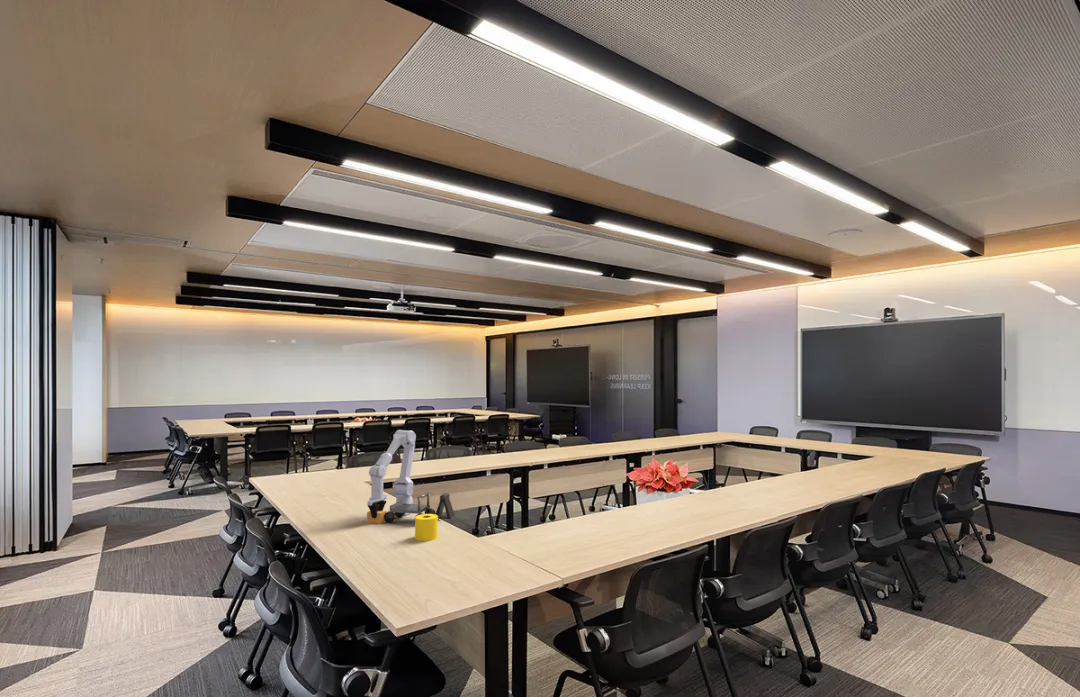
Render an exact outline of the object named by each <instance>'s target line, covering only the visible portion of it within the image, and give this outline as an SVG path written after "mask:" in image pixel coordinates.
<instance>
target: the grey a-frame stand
mask: <svg viewBox="0 0 1080 697" xmlns="http://www.w3.org/2000/svg"><path fill="white" fill-rule="evenodd" d="M444 510H445V514H443V512H444ZM435 513H436V515H437V516H438V519H439V520H440V519H441V520H442V519H443V520H451V519H453V518H454V517H455V516H456V514H455V512H454V508H453V506H452V502H451V500H450V493H449V492H444V493H442V494H441V495H440V496H439V503H438V505H437V509H436V510H435Z"/></svg>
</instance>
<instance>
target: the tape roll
mask: <svg viewBox="0 0 1080 697" xmlns="http://www.w3.org/2000/svg"><path fill="white" fill-rule="evenodd" d="M415 516H416V515H415ZM414 523H415V524H414V525H415V526H414V540H416V541H419V542H429V541H430V542H431V541H434V540H437V539H438V538H439V536H438V535H439V534H438V529H439V527H438V524H439V522H438V516H437V515H435V514H424V513H423V514H422V515H418V516H416V517H414Z"/></svg>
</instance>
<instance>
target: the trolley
mask: <svg viewBox="0 0 1080 697" xmlns="http://www.w3.org/2000/svg"><path fill="white" fill-rule="evenodd" d="M430 493H431V492H426V493H424V494H422V495H419V496H417V503H413V504H404V503H403V501H399V502H397V503H396V502H395V503H392V504H391V505H389V510H388V511H386V513H385V514H384V520H385V522H386V523H388V524H391V523H393V522H394V521H395V520H396V517H397V518H403V517H404V516H406V515H405V513H410V514H414V515H415V514H416V515H415V517H416V516H418V515H422V514H435V515H436V510H435V509H433V508H432V507H431V505H430ZM423 498H426V504H421V499H423ZM423 512H424V513H423ZM394 513H395V514H394ZM415 517H414V518H415Z"/></svg>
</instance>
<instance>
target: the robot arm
mask: <svg viewBox="0 0 1080 697" xmlns="http://www.w3.org/2000/svg"><path fill="white" fill-rule="evenodd" d="M416 438H417V435H416V433H415V432H414V431H413V430H404V429H398V430H397V429H396V431H395V433H394V434H393V439H392V441H391V443H390V445H389V447H388V448H387V450H386V452H383V453H381V454H380V457H379V458H378V460H377V461H376V463H375V464H374V465H372V466H371V467H370V469H369V471H368V475H369V476H370V480H371V486H370V488H371V492H370V495H371V496H370V497H369V500H367V502H366V503H367V507H368V510H369V511H370V512H371V516H372V518H376V517H377V511H384V509H385V505H386V504H387V495H386V494H384V476H386V474H387V470H388V466H389V465H390V463H391V462H392V460H393V456H394V454H395V453H396V451H397V450H398V448H400V446H402V447H403V454H402V460H401V464H400V465H401V466H400V473H399V477H398V478H397V479H396V480H395V482H394V485H393V489H392V491H393V494H394V495H395V496H394V497H396V498H395V499H396V500H395V503H397V502H399V501H403V503H404V504H414V499H413V496H412V495H413V494H414V482H413V480H412V479H411V474H412V473H411V472H412V469H413V467H412V466H413V459H414V456H415V455H414V453H415V448H416ZM394 514H395V513H394ZM410 514H411V513H405V515H404V516H408V515H410Z"/></svg>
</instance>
